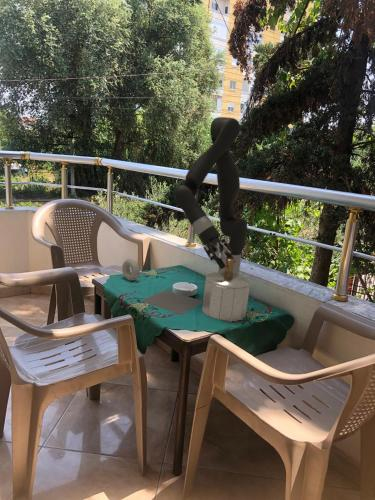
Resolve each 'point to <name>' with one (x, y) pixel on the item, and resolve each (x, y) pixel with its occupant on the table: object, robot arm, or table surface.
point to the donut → (126, 269)
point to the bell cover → (226, 294)
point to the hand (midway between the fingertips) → (228, 265)
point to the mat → (172, 302)
